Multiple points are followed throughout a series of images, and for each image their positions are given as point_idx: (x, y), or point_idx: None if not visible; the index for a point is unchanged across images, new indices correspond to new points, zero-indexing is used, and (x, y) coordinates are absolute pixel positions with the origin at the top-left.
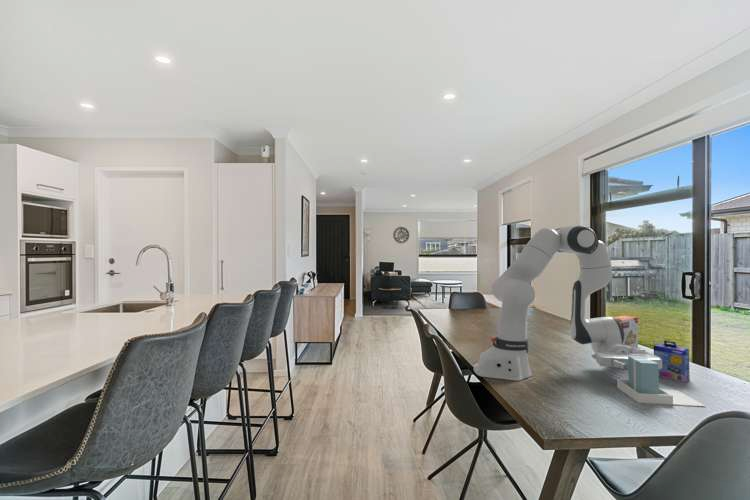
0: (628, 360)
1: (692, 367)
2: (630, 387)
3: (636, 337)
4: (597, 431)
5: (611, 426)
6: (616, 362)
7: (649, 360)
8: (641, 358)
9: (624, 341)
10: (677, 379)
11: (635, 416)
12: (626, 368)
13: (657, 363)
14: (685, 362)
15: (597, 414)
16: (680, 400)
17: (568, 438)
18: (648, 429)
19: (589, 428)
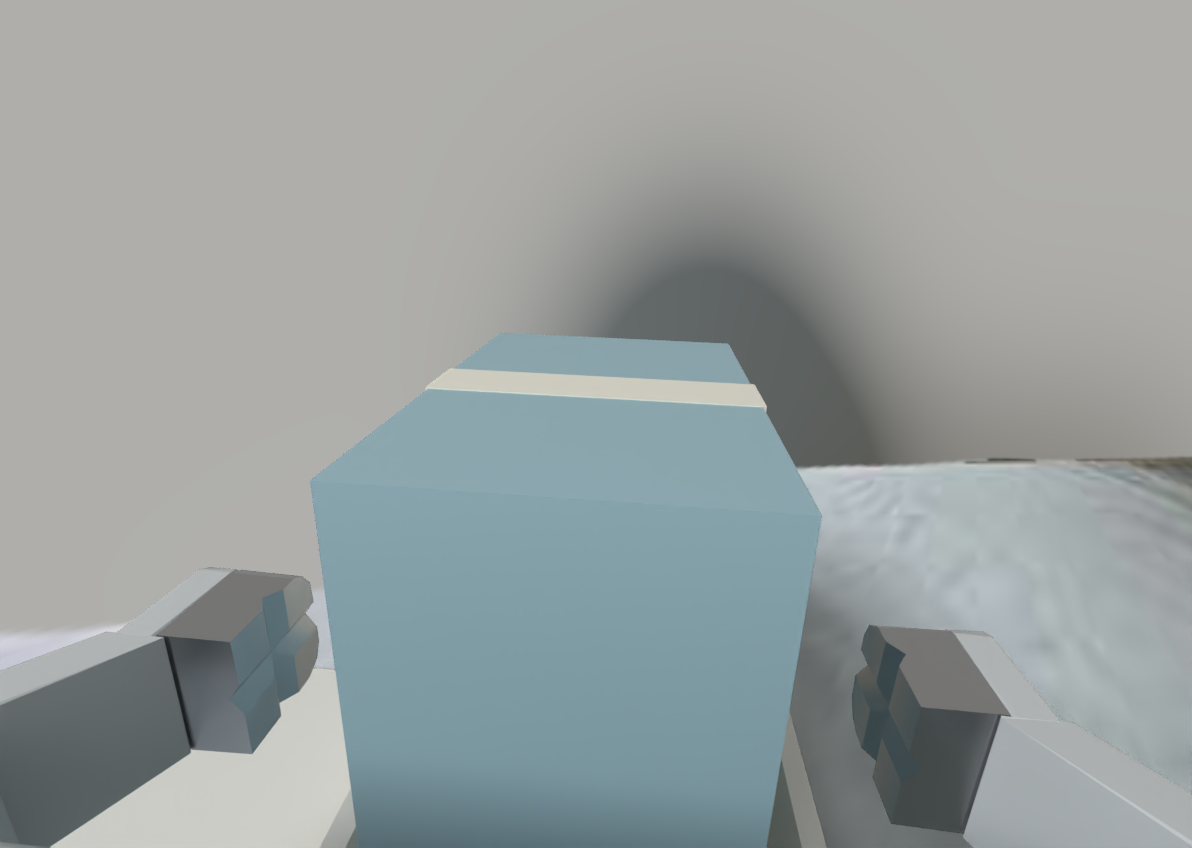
0: (796, 641)
1: None
2: (792, 791)
3: None
4: (1052, 480)
5: (995, 500)
6: (1176, 817)
7: (497, 371)
8: (556, 415)
9: None
10: None
11: (857, 558)
12: (860, 698)
13: (503, 335)
14: None
15: (1089, 570)
16: (263, 753)
17: (1147, 458)
18: (830, 488)
19: (1091, 491)
